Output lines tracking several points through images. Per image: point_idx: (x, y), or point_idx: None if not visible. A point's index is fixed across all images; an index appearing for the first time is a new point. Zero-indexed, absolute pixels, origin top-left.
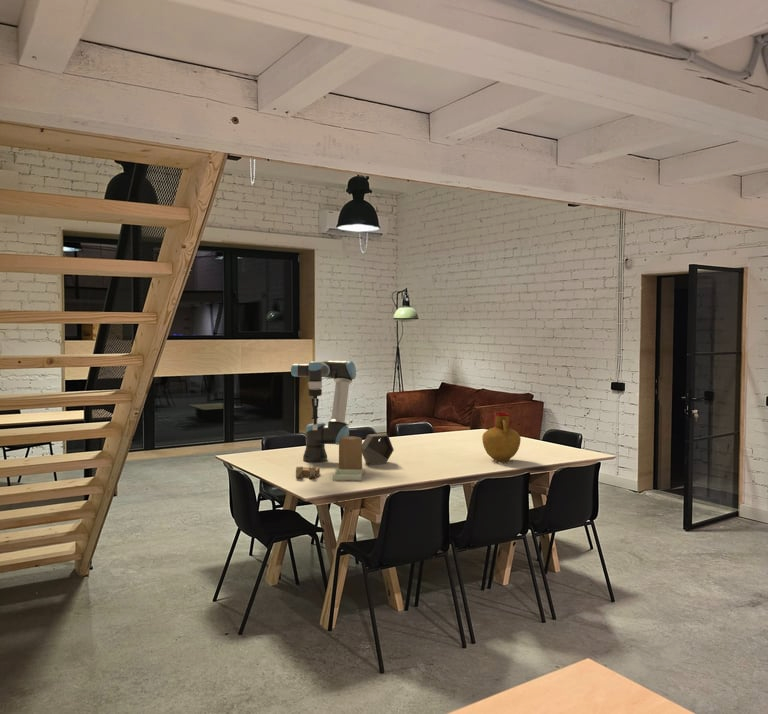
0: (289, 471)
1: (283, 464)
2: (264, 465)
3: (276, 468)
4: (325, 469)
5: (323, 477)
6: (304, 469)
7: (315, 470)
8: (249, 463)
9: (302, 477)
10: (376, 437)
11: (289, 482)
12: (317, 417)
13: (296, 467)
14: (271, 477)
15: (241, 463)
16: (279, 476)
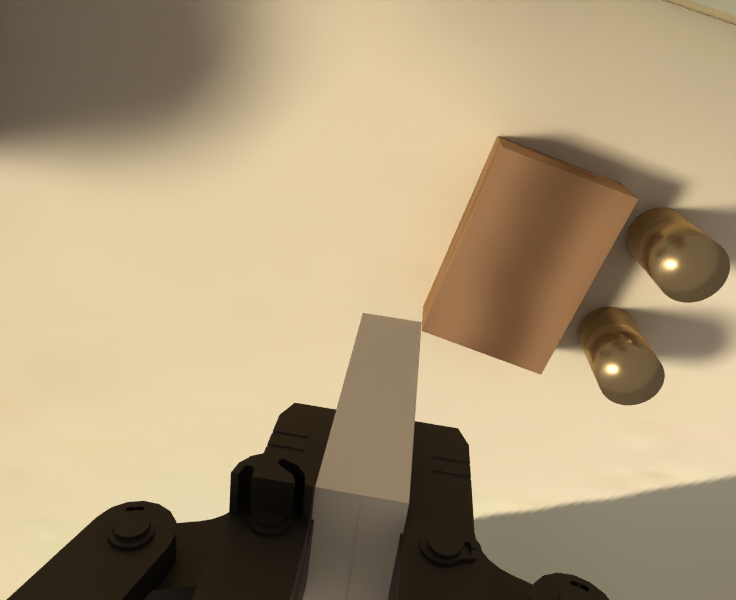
0: (330, 358)
1: (56, 356)
2: (90, 478)
3: (203, 424)
4: (306, 37)
5: (664, 129)
6: (547, 303)
7: (696, 230)
8: (20, 546)
9: (627, 314)
10: None
11: (729, 423)
12: (592, 596)
13: (633, 404)
14: (508, 500)
15: (21, 583)
16: (492, 450)
